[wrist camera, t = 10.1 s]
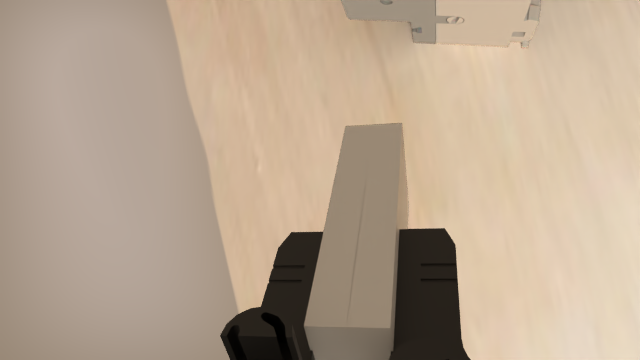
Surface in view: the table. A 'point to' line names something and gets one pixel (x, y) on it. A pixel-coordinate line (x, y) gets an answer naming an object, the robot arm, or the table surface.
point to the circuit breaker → (455, 19)
